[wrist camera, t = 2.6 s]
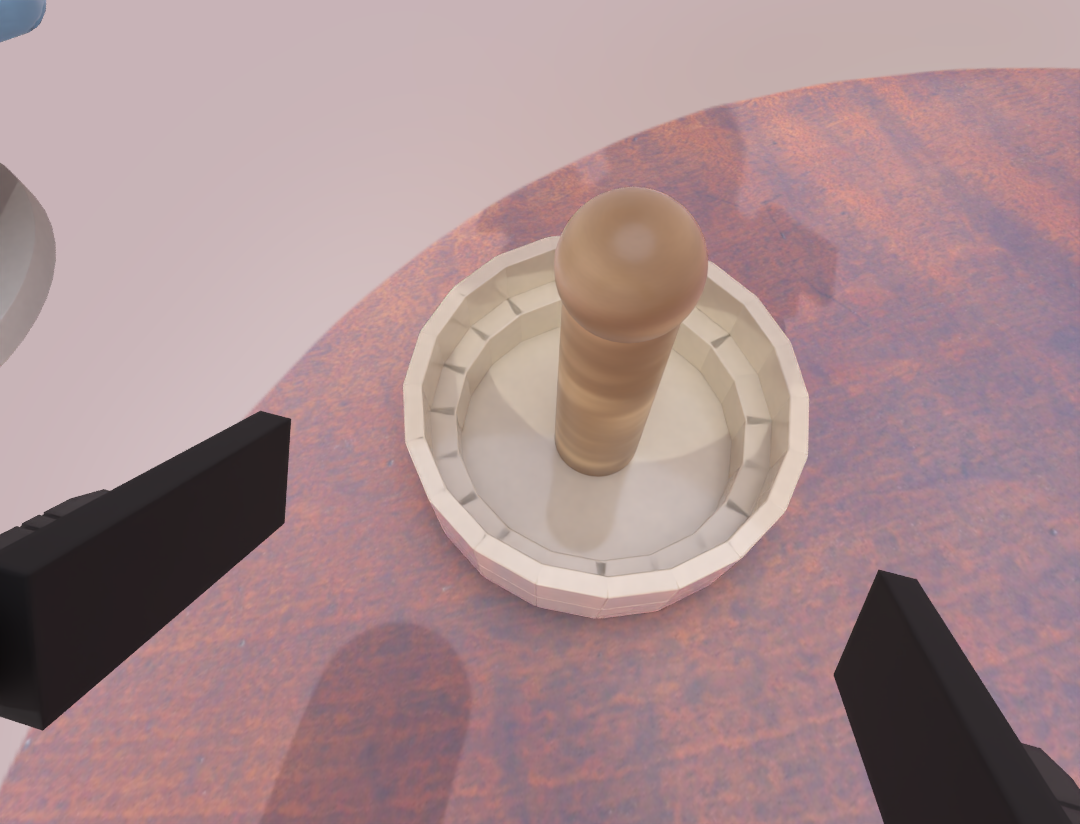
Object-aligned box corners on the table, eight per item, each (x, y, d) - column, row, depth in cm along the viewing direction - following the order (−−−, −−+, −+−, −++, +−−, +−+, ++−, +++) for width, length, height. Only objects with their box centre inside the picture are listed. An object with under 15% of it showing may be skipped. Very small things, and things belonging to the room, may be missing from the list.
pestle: (554, 488, 31) (568, 291, 17) (542, 400, 33) (545, 159, 19) (652, 476, 31) (744, 273, 17) (634, 390, 33) (703, 144, 19)
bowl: (433, 642, 28) (411, 623, 23) (417, 317, 35) (397, 250, 30) (811, 593, 29) (866, 565, 24) (720, 286, 36) (749, 217, 31)
